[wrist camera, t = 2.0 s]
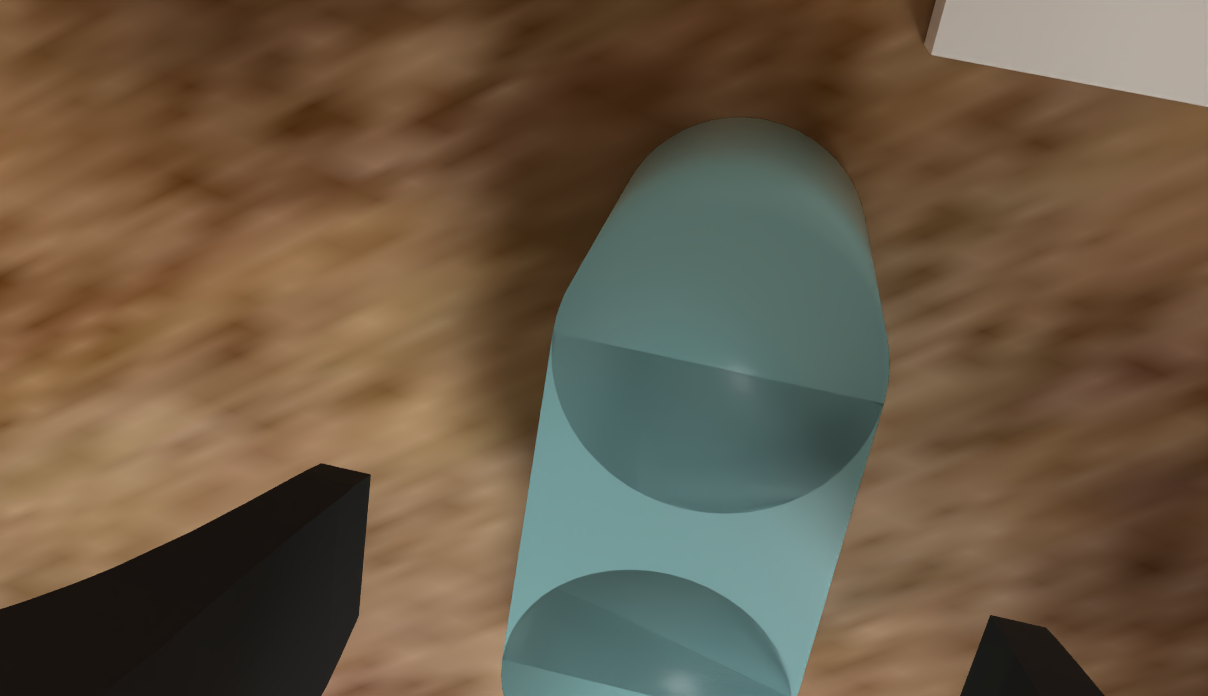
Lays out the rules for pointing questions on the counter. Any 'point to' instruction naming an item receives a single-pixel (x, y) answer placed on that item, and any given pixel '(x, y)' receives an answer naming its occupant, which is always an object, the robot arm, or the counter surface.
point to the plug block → (701, 426)
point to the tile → (1083, 41)
